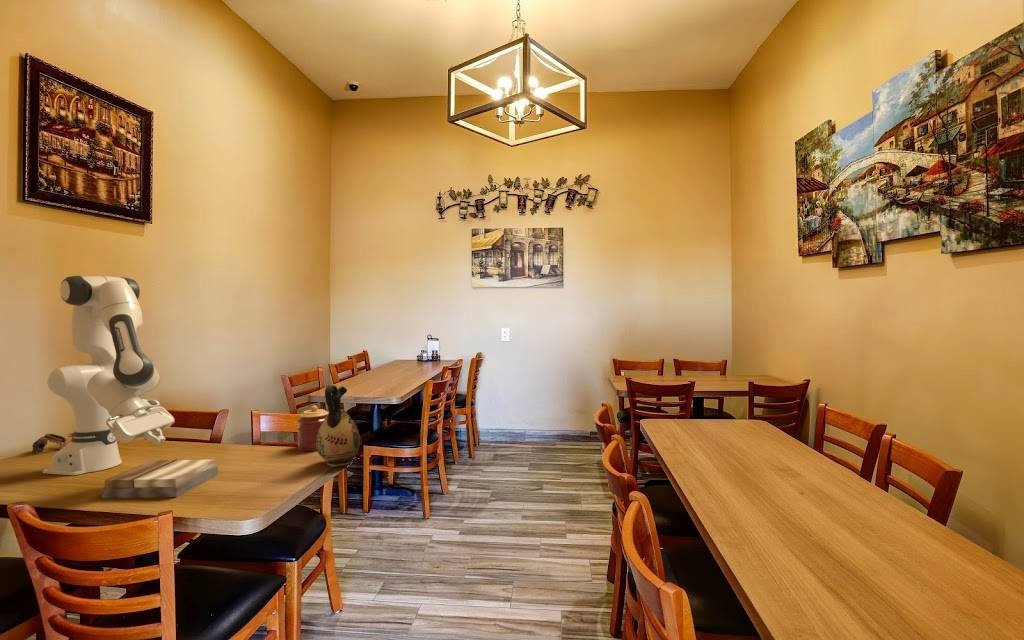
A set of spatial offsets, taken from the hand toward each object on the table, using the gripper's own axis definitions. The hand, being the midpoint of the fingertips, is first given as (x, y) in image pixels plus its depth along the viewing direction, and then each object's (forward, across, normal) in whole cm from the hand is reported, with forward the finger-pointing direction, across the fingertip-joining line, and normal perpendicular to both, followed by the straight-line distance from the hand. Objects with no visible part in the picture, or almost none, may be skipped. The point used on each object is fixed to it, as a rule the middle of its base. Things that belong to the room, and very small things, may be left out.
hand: (160, 441), depth 152 cm
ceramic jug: (+46, +20, -26) cm, 56 cm away
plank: (+12, 0, +4) cm, 13 cm away
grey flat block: (+11, 0, +10) cm, 15 cm away
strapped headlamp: (-44, +40, +68) cm, 90 cm away
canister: (+34, +42, -13) cm, 55 cm away
